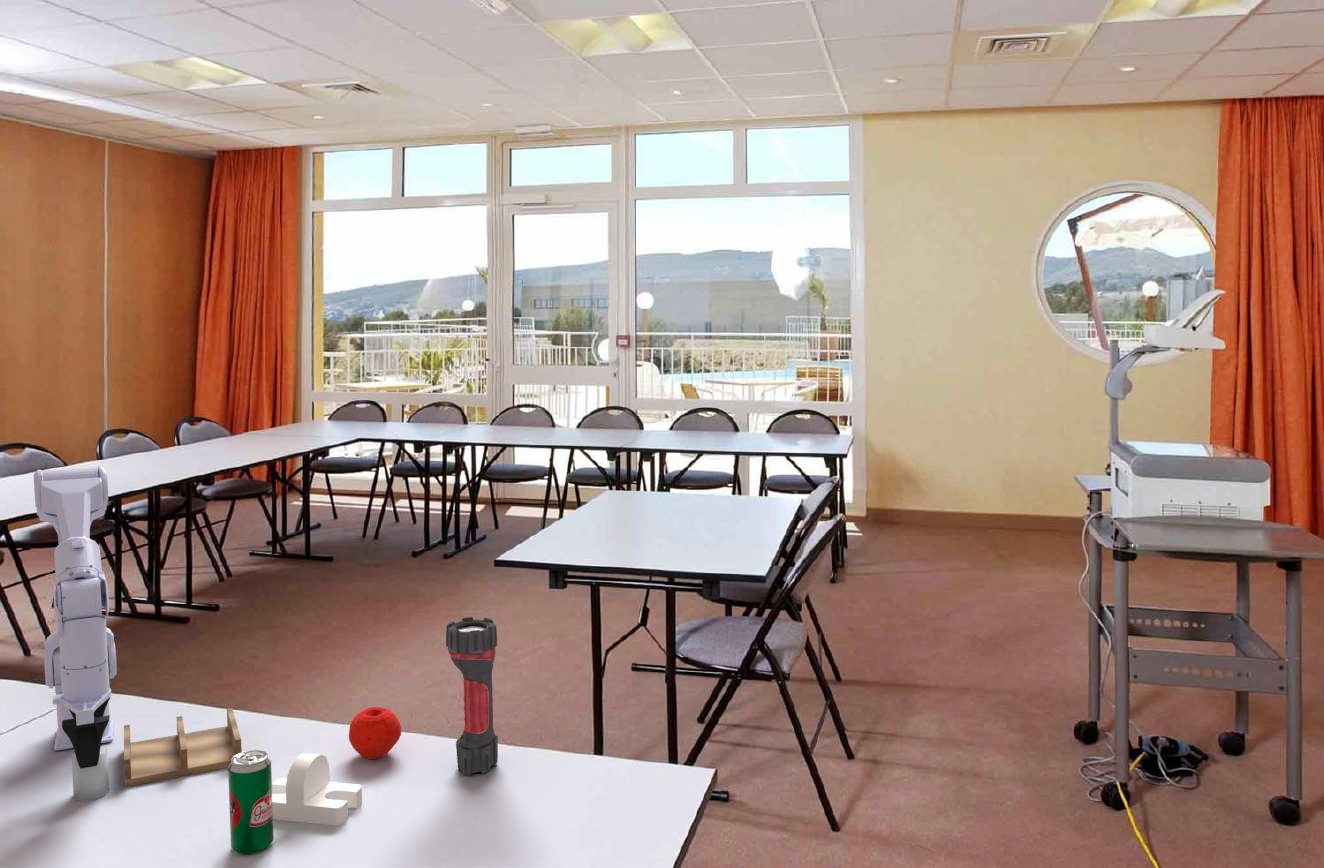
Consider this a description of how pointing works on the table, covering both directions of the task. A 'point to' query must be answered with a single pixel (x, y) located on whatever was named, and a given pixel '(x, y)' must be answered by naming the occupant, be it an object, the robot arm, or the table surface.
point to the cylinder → (91, 778)
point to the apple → (374, 732)
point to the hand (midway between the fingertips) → (89, 755)
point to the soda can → (250, 802)
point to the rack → (180, 752)
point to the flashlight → (475, 691)
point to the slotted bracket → (313, 793)
